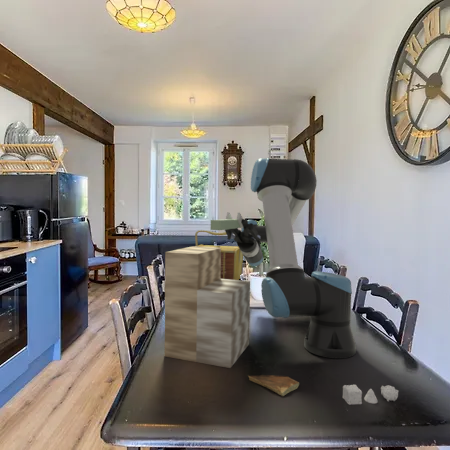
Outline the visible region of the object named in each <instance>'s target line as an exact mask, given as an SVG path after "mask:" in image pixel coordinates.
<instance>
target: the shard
mask: <svg viewBox="0 0 450 450" xmlns="http://www.w3.org/2000/svg"><path fill="white" fill-rule="evenodd" d="M247 377H248V378H249V379H248V380H249V381H251V382H253V383H255V384H258V385H260V386H263V387H265V388H267V389H269V390H270V391H272V392H275V393H276V394H278V395H279V396H281V397H284V396H285V395H287V394H289V393H290V392H293V391H294V390H297V389H298V388H299V386H300V382H299V381H297V380H295V379H293V378H291V377H289V376H287V375H270V374H261V375H260V374H259V375H255V374H254V375H253V374H248V375H247Z"/></svg>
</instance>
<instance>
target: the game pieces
mask: <svg viewBox="0 0 450 450" xmlns="http://www.w3.org/2000/svg"><path fill="white" fill-rule="evenodd" d="M380 391H381V395H382V396H383V398H384V399H386V401H387V402H390V401H393V402H395V401H396V400H397V399H398V397H399V390H398V389H396V388H395V386H392V385H389V384H388V385H385V386H384V385H381V387H380ZM362 395H363V392H362V390H361V389H360V388H359V387H358V386H357V384H348V385H347V384H344V385H343V386H342V399H344V401H345V402H346V403H347V405H350V406H351V405H362V404H363V402H362V401H363V400H364V401H365V402H366V403H369V404H377V403H379V402H378V399H377V397H376V395H375V391H374V390H373V389H372V388H369V389H368V391H367V393H366V394H365V396H364V398H363V400H362Z"/></svg>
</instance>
